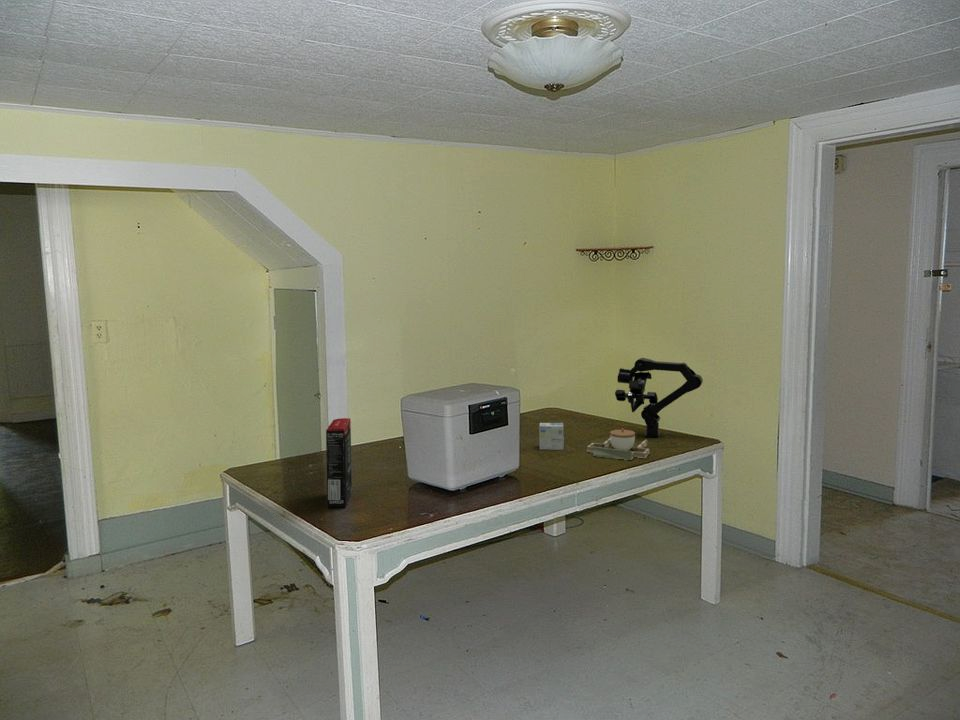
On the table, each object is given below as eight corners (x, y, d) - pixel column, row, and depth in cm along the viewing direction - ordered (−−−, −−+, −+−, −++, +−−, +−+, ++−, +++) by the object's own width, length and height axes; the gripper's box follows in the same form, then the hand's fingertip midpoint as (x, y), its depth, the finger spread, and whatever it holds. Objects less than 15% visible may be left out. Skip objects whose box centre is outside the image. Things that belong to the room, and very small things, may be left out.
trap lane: (602, 440, 324) (602, 431, 323) (657, 446, 313) (657, 437, 312) (583, 455, 299) (583, 446, 299) (641, 462, 288) (642, 452, 288)
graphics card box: (334, 492, 253) (331, 418, 250) (353, 492, 254) (351, 417, 250) (327, 509, 236) (324, 429, 233) (348, 508, 237) (345, 428, 233)
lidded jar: (634, 447, 312) (634, 426, 311) (635, 453, 302) (635, 431, 300) (609, 446, 314) (610, 425, 313) (609, 452, 304) (610, 431, 302)
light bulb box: (563, 446, 315) (563, 422, 313) (563, 450, 308) (564, 425, 307) (539, 445, 316) (539, 422, 314) (539, 449, 309) (539, 425, 308)
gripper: (616, 372, 327) (609, 400, 319) (657, 374, 319) (650, 403, 311) (620, 386, 335) (613, 413, 327) (660, 389, 327) (654, 417, 319)
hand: (632, 411), depth 321 cm, fingers closed
